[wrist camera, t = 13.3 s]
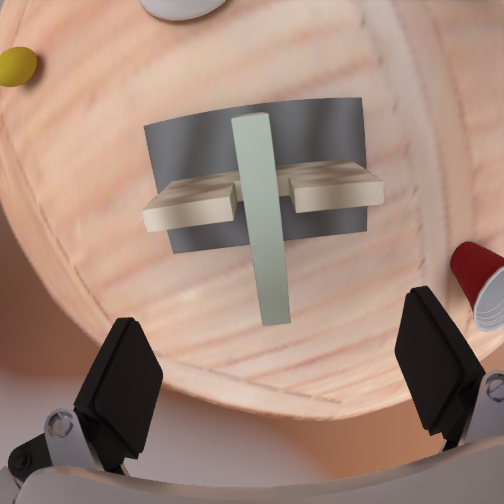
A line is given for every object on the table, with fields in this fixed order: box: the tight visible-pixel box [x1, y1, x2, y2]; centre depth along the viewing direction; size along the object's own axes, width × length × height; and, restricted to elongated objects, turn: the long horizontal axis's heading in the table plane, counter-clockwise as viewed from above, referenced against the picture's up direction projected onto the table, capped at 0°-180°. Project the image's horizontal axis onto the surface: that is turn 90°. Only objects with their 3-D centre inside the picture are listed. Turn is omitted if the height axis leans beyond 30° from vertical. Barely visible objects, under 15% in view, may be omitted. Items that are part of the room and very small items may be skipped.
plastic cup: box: [451, 242, 504, 332], centre depth 33 cm, size 11×11×12 cm
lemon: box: [0, 47, 37, 87], centre depth 22 cm, size 6×6×8 cm
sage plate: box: [231, 112, 291, 326], centre depth 25 cm, size 14×2×16 cm, turn 8°
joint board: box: [141, 98, 384, 254], centre depth 28 cm, size 24×16×12 cm, turn 98°
